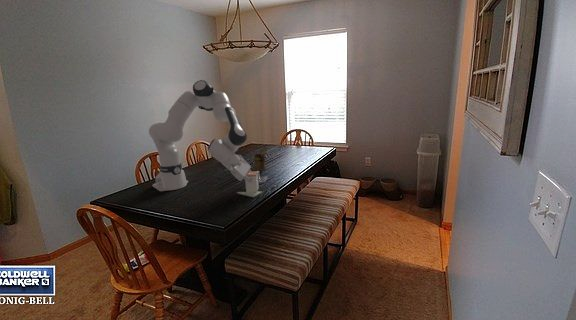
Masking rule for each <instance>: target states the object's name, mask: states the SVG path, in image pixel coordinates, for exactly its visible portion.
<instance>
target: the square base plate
mask: <svg viewBox="0 0 576 320" xmlns="http://www.w3.org/2000/svg"><path fill="white" fill-rule="evenodd" d="M256 171H257V170H256ZM257 172H258V183H266V182H267V180H268V175H265V176H261V174H260V170H258V171H257Z"/></svg>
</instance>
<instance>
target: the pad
mask: <svg viewBox="0 0 576 320" xmlns="http://www.w3.org/2000/svg"><path fill="white" fill-rule="evenodd" d="M265 192H267V190H258V192H247V193H246V190H245V191H242V190H241V191H236V193H237V194H239V195H242V196H247V197H251V198H255V197H257V196H259V195H261V194H263V193H265Z"/></svg>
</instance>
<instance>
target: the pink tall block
mask: <svg viewBox="0 0 576 320" xmlns="http://www.w3.org/2000/svg"><path fill="white" fill-rule="evenodd" d="M246 175H247V177H249V178H251V179H252V182H251V183H249V182H248V181H246V180H244V182H245V191H246V193H247V192H258V191H259V188H260V185H259V182H258V172H257V170H254V171H252V172H248V173H247V174H246Z"/></svg>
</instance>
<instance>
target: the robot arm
mask: <svg viewBox="0 0 576 320" xmlns="http://www.w3.org/2000/svg"><path fill="white" fill-rule="evenodd" d="M231 104H232V103H231V101H230V99H229V97H228V95H227V93H225V92H224V91H223V92H222V91H218V92H217V91H215V88H214V87H213V86H212V85H211V84H210V83H208V81H205V80H203V79H201V80H197V81H196V82H195V83H194V84H193V85H192V91H191V90H190V91H189V90H186V91H185V92H183V93H182V94H181V95H180V96H179V97H178V98H177V100H176V101H175V102H174V103H173V105H172V106H171V107H170V109H169V110H168V116H167V118H166V120H165V121H164V122H157V123H154V124H152V125H151V126H150V127H149V129H148V134H149V137H151V138H152V140H153V143H154V144H155V147H156V149H157V152H158V157H159V163H160V165H159V173H157V175H156V176H155V179H154V182H155V183H153V184H152V187H153V188H154V189H156V190H157V191H159V192H165V191H175V190H179V189H182V188H185V187H186V186H187V184H188V183H189V180H187V178H186V174H185V171H184V170H183V165H182V162H181V158H180V151H179V149H178V148H177V146H176V145H175V143H177V142H179V141H181V140H182V138H183V136H184V131H183V129H184V126H185V123H186V121H188V119H189V118H190V116H191V114H192V113H193V111H195V109H196V108H197V107H198V109H199V110H204V111H207V112H213V116H214V118H215V119H216V120H217V121H219V122H223V123H225V122H228V125H229V130H228V132H227V133H226V135H225V136H224V137H223V138H213V139H212V140H211V142H210V143H209V145H208V146H207V151H208V153H210V155H211V156H212V157H213V158H214V159H215V160H216V161H218V162H220V163H221V165H222V166H224V167H225V169H227V170H229V171H230V173H231V174H232V176H234V178H236V180H238V181H240V182H242V181H243V180H244V181H245V180H246V181H248V182H249V183H251V182H252V179H251V178H249V177H247V175H246V174H247V173H248V172H253V171H252V170H251V168H252V166H251V165H250V163H248V161H246V160H245V159H244V158H243V156H242V155H241V154H236V152H237V151H238V150H239V148H241V146H242V145H243V144H244V143H245V142H246V141H247V138H248V137H247V136H248V135H247V132H246V130H245V129H244V127H243V126H242V124H241V121H240V118H239V116H238V114H237V112H236V110H235V108H233V107H232V105H231Z"/></svg>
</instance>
